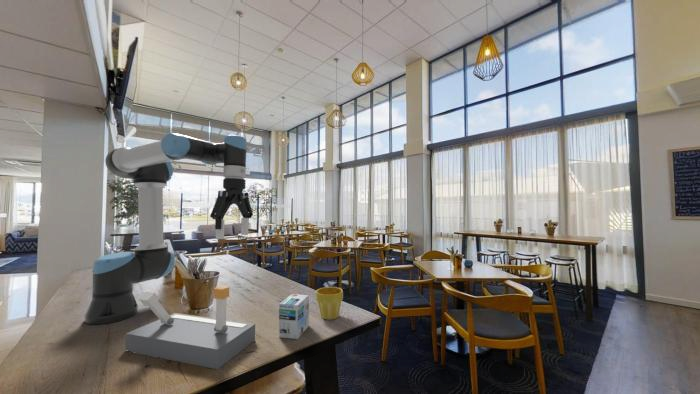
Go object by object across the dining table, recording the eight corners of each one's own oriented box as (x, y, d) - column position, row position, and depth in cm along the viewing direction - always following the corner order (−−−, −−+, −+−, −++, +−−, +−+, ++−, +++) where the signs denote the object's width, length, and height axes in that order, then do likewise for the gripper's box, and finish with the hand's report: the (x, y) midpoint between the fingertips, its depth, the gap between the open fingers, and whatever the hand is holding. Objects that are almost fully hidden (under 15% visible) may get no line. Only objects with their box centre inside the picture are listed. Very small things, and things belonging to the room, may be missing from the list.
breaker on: (161, 325, 85) (138, 299, 79) (168, 318, 87) (146, 291, 81) (169, 326, 84) (147, 300, 78) (175, 319, 86) (154, 292, 80)
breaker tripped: (212, 333, 79) (213, 288, 80) (219, 329, 82) (220, 286, 82) (222, 334, 78) (223, 289, 79) (228, 330, 81) (229, 286, 81)
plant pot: (310, 317, 104) (310, 291, 104) (328, 309, 112) (328, 285, 112) (330, 324, 97) (331, 296, 98) (348, 315, 106) (348, 289, 106)
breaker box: (125, 351, 79) (125, 332, 79) (174, 327, 95) (174, 312, 95) (217, 369, 70) (217, 348, 71) (255, 340, 86) (255, 323, 86)
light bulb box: (297, 340, 86) (298, 305, 86) (277, 337, 87) (278, 303, 88) (309, 325, 97) (309, 294, 97) (291, 323, 98) (291, 293, 98)
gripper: (219, 174, 87) (217, 241, 87) (262, 181, 111) (261, 233, 111) (199, 174, 89) (197, 240, 88) (246, 181, 113) (245, 232, 113)
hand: (233, 236), depth 100 cm, fingers open, 13 cm apart
